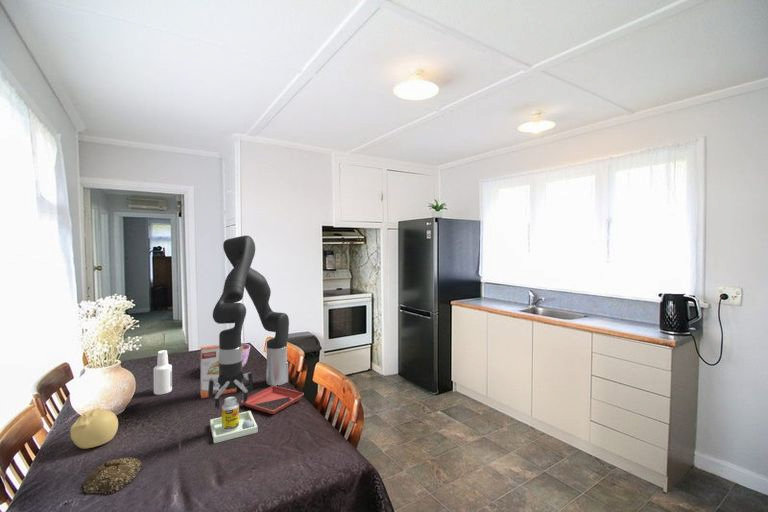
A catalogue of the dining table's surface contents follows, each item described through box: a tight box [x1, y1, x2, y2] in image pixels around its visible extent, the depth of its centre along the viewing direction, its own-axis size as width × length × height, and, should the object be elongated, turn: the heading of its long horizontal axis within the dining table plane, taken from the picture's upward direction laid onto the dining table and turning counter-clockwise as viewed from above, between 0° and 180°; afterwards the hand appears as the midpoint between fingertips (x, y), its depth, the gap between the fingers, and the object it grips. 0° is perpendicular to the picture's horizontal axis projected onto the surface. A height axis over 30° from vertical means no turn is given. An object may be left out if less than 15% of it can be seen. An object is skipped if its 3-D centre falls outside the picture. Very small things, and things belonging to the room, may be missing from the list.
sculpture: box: [69, 407, 119, 450], centre depth 114 cm, size 12×12×11 cm
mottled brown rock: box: [82, 457, 144, 495], centre depth 97 cm, size 13×12×5 cm
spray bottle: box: [153, 349, 173, 396], centre depth 154 cm, size 7×7×18 cm
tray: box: [209, 410, 259, 444], centre depth 123 cm, size 14×14×2 cm
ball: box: [242, 420, 253, 429], centre depth 122 cm, size 4×4×4 cm
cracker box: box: [200, 344, 237, 399], centre depth 153 cm, size 14×6×21 cm, turn 122°
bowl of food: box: [241, 342, 251, 368], centre depth 181 cm, size 20×20×12 cm
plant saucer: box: [240, 385, 304, 415], centre depth 144 cm, size 18×18×3 cm
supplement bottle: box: [221, 396, 240, 431], centre depth 123 cm, size 6×6×10 cm
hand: (231, 405), depth 123 cm, fingers open, 8 cm apart
